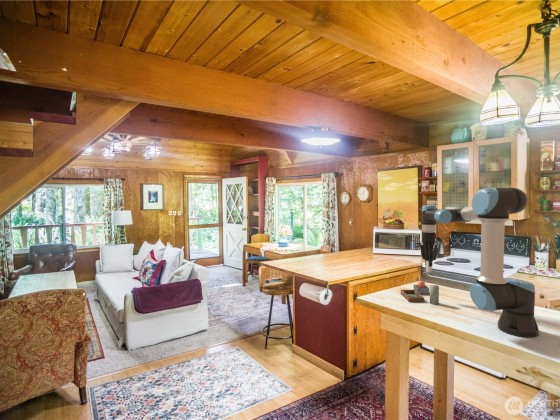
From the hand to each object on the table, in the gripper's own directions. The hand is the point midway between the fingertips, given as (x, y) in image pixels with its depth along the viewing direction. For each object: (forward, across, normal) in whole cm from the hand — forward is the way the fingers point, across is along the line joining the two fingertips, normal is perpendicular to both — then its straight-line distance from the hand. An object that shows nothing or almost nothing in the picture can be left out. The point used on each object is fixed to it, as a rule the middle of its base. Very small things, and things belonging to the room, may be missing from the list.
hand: (428, 271), depth 194 cm
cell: (+16, -7, +5) cm, 18 cm away
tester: (+16, +10, -6) cm, 20 cm away
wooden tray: (+16, +6, +7) cm, 18 cm away
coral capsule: (+15, +10, -6) cm, 19 cm away
